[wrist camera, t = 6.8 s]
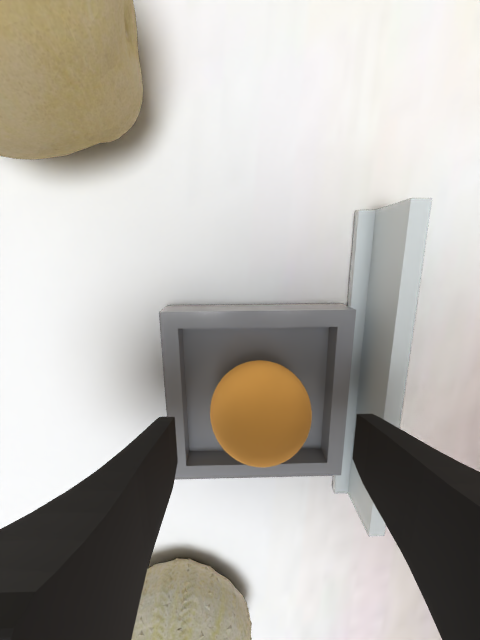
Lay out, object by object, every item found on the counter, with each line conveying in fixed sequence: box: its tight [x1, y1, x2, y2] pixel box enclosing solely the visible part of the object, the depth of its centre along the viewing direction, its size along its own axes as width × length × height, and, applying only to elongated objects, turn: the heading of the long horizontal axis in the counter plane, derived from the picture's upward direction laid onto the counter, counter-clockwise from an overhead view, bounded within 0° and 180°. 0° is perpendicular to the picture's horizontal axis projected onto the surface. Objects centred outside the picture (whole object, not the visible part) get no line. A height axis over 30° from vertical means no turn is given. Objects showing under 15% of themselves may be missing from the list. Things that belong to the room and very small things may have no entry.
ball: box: [210, 360, 312, 467], centre depth 12 cm, size 4×4×4 cm
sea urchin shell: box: [131, 558, 252, 640], centre depth 17 cm, size 9×8×8 cm
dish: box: [159, 303, 356, 479], centre depth 14 cm, size 9×9×2 cm
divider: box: [332, 198, 432, 536], centre depth 13 cm, size 2×16×3 cm, turn 0°
